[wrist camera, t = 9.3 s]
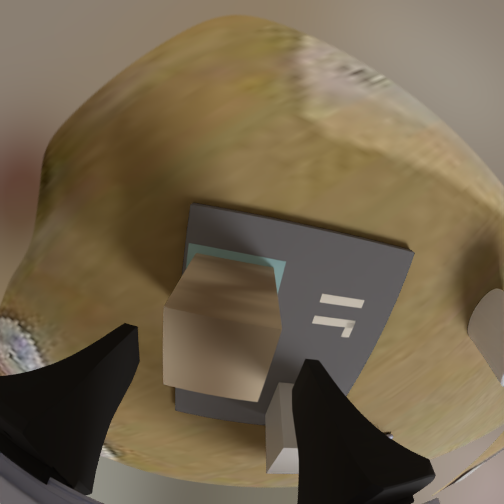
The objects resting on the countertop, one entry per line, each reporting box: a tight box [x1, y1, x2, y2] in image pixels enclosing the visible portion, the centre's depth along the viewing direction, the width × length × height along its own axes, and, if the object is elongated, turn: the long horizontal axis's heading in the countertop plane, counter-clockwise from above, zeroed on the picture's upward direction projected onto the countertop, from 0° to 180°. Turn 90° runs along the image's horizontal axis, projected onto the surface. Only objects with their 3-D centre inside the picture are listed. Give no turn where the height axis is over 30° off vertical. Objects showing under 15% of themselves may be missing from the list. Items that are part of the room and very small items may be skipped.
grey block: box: [265, 382, 299, 474], centre depth 17 cm, size 4×4×6 cm
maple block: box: [163, 253, 282, 402], centre depth 13 cm, size 4×4×6 cm
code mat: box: [175, 203, 415, 425], centre depth 18 cm, size 14×18×1 cm
